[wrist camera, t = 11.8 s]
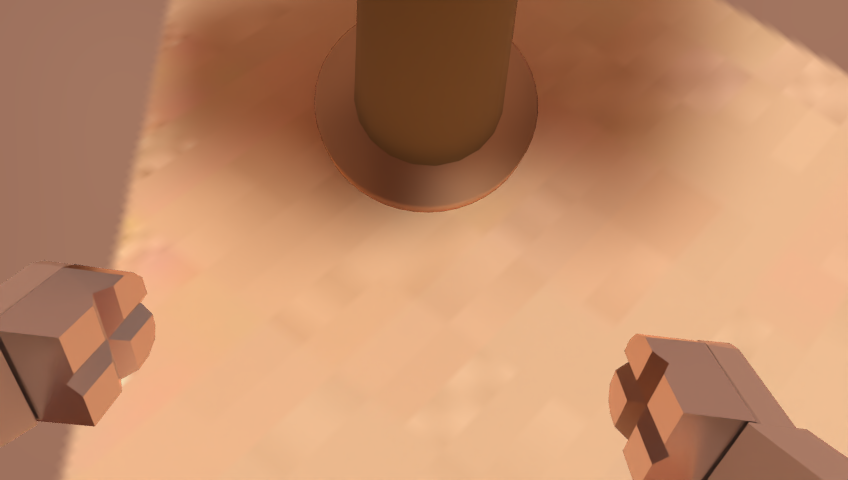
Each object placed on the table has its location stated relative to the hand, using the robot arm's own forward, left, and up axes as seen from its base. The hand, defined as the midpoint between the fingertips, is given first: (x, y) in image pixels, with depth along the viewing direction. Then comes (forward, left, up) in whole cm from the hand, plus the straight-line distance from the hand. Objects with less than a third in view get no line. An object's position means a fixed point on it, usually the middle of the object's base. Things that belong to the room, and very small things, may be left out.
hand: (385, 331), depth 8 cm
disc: (0, -10, -12) cm, 15 cm away
